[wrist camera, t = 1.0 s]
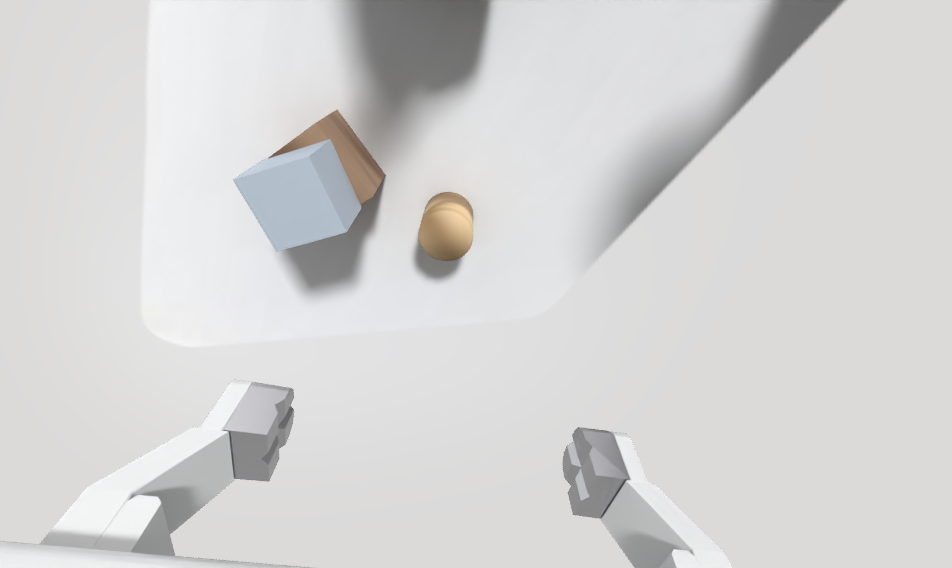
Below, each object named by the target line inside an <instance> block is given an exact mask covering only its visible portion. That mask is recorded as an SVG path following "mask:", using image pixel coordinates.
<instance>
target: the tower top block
mask: <svg viewBox="0 0 952 568" xmlns="http://www.w3.org/2000/svg"><path fill="white" fill-rule="evenodd" d="M233 181H234V182H235V184H236V186H237V187H238V189H239V191H240V192H241V194H242V196H243V197H244V199H245V201H246V202H247V204H248V206H249V207H250V209H251V210H252V212H253V214H254V215H255V217H256V219H257V220H258V222H259V224H260V225H261V227H262V229H263V230H264V232H265V234H266V235H267V237H268V238H269V240H270V242H271V243H272V245H273V247H274V248H275V250H276V252H278V251H281V250H285V249H289V248H292V247H296V246H299V245H303V244H307V243H310V242H314V241H317V240H321V239H325V238H328V237H332V236H336V235H339V234H343V233H346V232H347V231H348V229H349V228H350V226H351V225H352V223H353V221H354V220H355V218H356V216H357V215H358V213H359V212H360V210H361V208H362V207H361V205H360V203H359V200H358V198H357V196H356V194H355V192H354V190H353V187H352V185H351V183H350V181H349V179H348V176H347V174H346V172H345V170H344V168H343V166H342V163H341V161H340V159H339V157H338V155H337V153H336V150H335V148H334V146H333V144H332V142H331V139H328V140H325V141H322V142H319V143H316V144H313V145H309V146H306V147H303V148H300V149H297V150H294V151H290V152H287V153H284V154H281V155H278V156H274V157H271V158H268V159H265V160H262V161H261V162H259V163H258V164H256V165H255V166H253V167H252V168H250V169H249V170H247V171H246V172H244V173H243V174H241V175H239V176H238V177H236V178H235V179H233Z"/></svg>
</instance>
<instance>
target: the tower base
mask: <svg viewBox="0 0 952 568" xmlns="http://www.w3.org/2000/svg"><path fill="white" fill-rule="evenodd" d="M328 139H331V142H332V144H333V146H334V148H335V150H336V153H337V155H338V157H339V159H340V161H341V163H342V166H343V168H344V170H345V172H346V174H347V176H348V179H349V181H350V183H351V185H352V187H353V190H354V192H355V194H356V196H357V198H358V200H359V203H360V205H361V204H362V203H364V202H365V201H367V200H369V199H370V198H372V197H373V196H374V194H375V192H376V191H377V189H378V187H379V186H380V184H381V182H382V181H383V179H384V177H385V176H386V175H385V174H384V172H383V171H382V170H381V168H380V167H379V166H378V164H377V163H376V161H375V160H374V159H373V157H372V156H371V155H370V153H369V152H368V151H367V149H366V148H365V147H364V145H363V144H362V142H361V141H360V140H359V138H358V137H357V136H356V134H355V133H354V132H353V130H352V129H351V128H350V126H349V125H348V123H347V122H346V121H345V119H344V118H343V117H342V115H341V114H340V113H339V111H338V110H336V111H334V112H332V113H331V114H329V115H328V116H326V117H325V118H323V119H321V120H320V121H318V122H317V123H315V124H314V125H312V126H311V127H310V128H308V129H307V130H306V131H304V132H303V133H302V134H300V135H299V136H297V137H296V138H295V139H293V140H292V141H291V142H289V143H288V144H287V145H285V146H284V147H283V148H281V149H280V150H278V151H277V152H276V153H274V154H273V155H272V156H270V157H269V158H271V157H274V156H278V155H281V154H284V153H287V152H290V151H294V150H297V149H300V148H303V147H306V146H309V145H313V144H316V143H319V142H322V141H325V140H328Z"/></svg>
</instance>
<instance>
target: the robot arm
mask: <svg viewBox="0 0 952 568" xmlns="http://www.w3.org/2000/svg"><path fill="white" fill-rule="evenodd" d="M293 398H294V392H293V389H292V388H287V387H281V386H275V385H269V384H263V383H256V382H248V381H242V380H236V379H234V380H233V381H232V382H231V383H229V385H228V386H227V388H226V389H225V390H224V392H223V394H222V395H221V396H220V398H219V399H218V401H217V402H216V404H215V406H214V407H213V408H212V410H211V412H210V413H209V414H208V416H207V417H206V419H205V420H204V422H203V423H202V425H201V426H200V427H199V428H198V427H193V428H191V429H189V430H187V431H185V432H184V433H182V434H180V435H178V436H177V437H175V438H173V439H171V440H170V441H168V442H166V443H164V444H163V445H161V446H159V447H158V448H156V449H154V450H152V451H150V452H149V453H147V454H145V455H143V456H141V457H140V458H138V459H137V460H135V461H133V462H131V463H129V464H127V465H126V466H124V467H122V468H120V469H119V470H117V471H115V472H113V473H112V474H110V475H108V476H106V477H105V478H103V479H101V480H99V481H98V482H96V483H94V484H92V485H91V486H89V487H87V488H86V489H85V490H84V492H83V493H82V494H81V495H80V496H79V497H78V499H77V500H76V501H75V502H74V504H73V505H72V506H71V507H70V508H69V510H68V511H67V512H66V513H65V514H64V515H63V517H62V518H61V519H60V520H59V521H58V523H57V524H56V525H55V526H54V527H53V529H52V530H51V531H50V532H49V533H48V535H47V536H46V537H45V538H44V539H43V541H42V542H41V543H40V544H29V543H28V544H27V543H17V542H5V541H0V568H308V567H297V566H286V565H273V564H262V563H249V562H239V561H226V560H214V559H203V558H191V557H180V556H175V553H174V549H173V545H172V542H171V538H170V534H171V533H172V532H173V531H175V530H176V529H177V528H178V527H179V526H181V525H182V524H183V523H184V522H185V521H187V520H188V519H189V518H190V517H191V516H193V515H194V514H195V513H196V512H197V511H199V510H200V509H201V508H202V507H203V506H205V504H207V503H208V502H209V501H210V500H212V499H213V498H214V497H215V496H216V495H217V494H219V493H220V492H221V491H222V490H223V489H225V488H226V487H227V486H228V485H230V484H231V483H232V482H233V481H234V479H246V480H258V481H269V480H270V478H271V476H272V474H273V471H274V469H275V467H276V465H277V462H278V460H279V448H281V447H282V446H284V445H285V444H286V442H287V439H288V437H289V434H290V431H291V427H292V424H293V416H294V409H293V408H292V407H291V406H290V405H291V403H292V401H293ZM573 441H574V442H572V443H571V444H569V445H568V446H567V447H566V449H565V452H564V456H563V472H564V477H565V479H566V480H567V481H568V483H569V484H570V485H571V488H570V490H569V491H568V495H569V499H570V504H571V508H572V512H573V515H579V516H586V517H594V518H600V519H601V521H602V522H603V524H604V525H605V527H606V528H607V530H608V531H609V532H610V534H611V535H612V537H613V538H614V539H615V541H616V542H617V543H618V545H619V546H620V548H621V549H622V550H623V552H624V553H625V555H626V556H627V557H628V559H629V560H630V562H631V563H632V564H633V566H634V567H635V568H732V567H731V565H730V563H729V561H728V559H727V557H726V555H725V553H724V552H723V551H722V550H721V549H720V548H719V547H718V546H717V545H716V544H715V543H714V542H713V541H711V539H710V538H709V537H708V536H707V535H706V534H705V533H703V531H701V530H700V529H699V528H698V527H697V526H696V525H695V524H694V523H693V522H692V521H691V520H690V519H689V518H688V517H687V516H686V515H685V514H684V513H683V512H682V511H681V510H680V509H679V508H678V507H677V506H676V505H675V504H674V503H673V502H672V501H671V500H670V499H669V498H668V497H667V496H666V495H665V494H664V493H663V492H662V491H661V490H660V489H659V488H657V486H655V485H654V484H653V483H649V482H648V480H647V477H646V475H645V473H644V470H643V468H642V465H641V463H640V461H639V458H638V456H637V453H636V451H635V448H634V446H633V444H632V441H631V439H630V437H629V436H628V435H627V434H626V433H618V432H609V431H604V430H596V429H588V428H580V427H578V428H577V429H576V430H575V431H574V433H573Z"/></svg>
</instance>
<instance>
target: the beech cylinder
mask: <svg viewBox="0 0 952 568" xmlns="http://www.w3.org/2000/svg"><path fill="white" fill-rule="evenodd" d="M419 241H420V244H421V246H422V248H423V249H424V251H425V252H426V253H427V254H428V255H430V256H431V257H433V258H435V259H438V260H443V261H451V260H455V259H458V258H460V257H462V256H463V255H465V254H466V253H467V252H468V250H469V249H470V247H471V245H472V241H473V210H472V207H471V205H470V204H469V202H468V201H467V200H466V199H465V198H464V197H462V196H461V195H459V194H456V193H452V192H444V193H440V194H437V195H435V196H434V197H432V198H431V199H430V200H429V202H428V203H427V205H426V207H425V211H424V214H423V218H422V222H421V225H420V229H419Z"/></svg>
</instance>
